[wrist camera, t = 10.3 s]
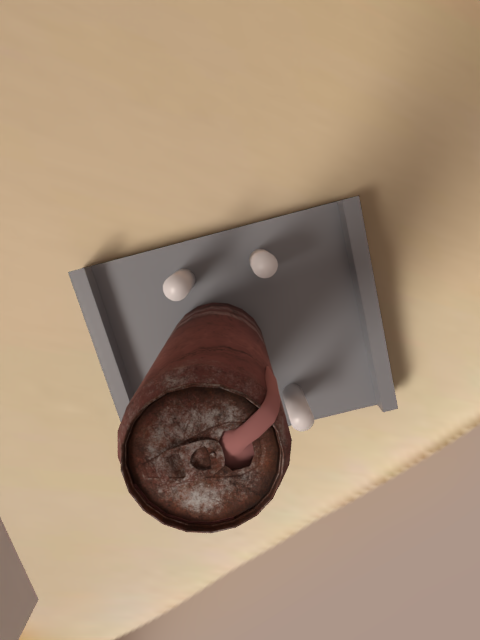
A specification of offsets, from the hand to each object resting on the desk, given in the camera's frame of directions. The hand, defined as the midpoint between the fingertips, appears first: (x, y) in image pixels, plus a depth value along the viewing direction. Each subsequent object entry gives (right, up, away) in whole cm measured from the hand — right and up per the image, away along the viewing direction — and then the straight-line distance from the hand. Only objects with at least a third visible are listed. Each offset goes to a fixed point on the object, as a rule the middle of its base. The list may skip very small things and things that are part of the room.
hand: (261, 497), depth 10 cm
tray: (-1, +4, +17) cm, 18 cm away
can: (-2, +3, +17) cm, 17 cm away
